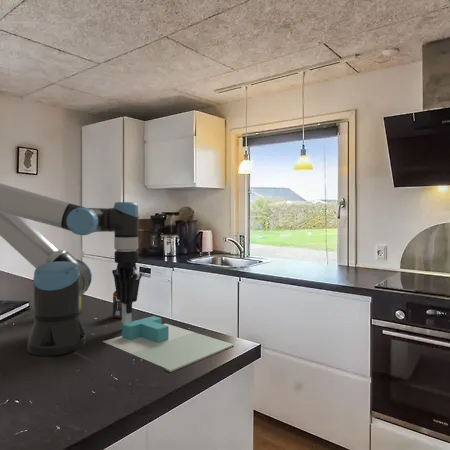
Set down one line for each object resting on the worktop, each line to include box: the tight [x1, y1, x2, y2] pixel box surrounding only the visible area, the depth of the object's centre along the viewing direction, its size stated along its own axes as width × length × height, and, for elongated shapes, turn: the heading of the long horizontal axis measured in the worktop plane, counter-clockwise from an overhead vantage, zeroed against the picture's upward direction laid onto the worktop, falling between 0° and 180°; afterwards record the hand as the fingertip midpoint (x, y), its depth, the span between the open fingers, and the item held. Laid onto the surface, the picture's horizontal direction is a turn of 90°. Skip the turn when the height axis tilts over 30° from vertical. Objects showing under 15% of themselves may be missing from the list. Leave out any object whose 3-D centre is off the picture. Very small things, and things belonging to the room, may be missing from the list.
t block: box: [121, 315, 169, 343], centre depth 117 cm, size 12×12×4 cm
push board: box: [102, 323, 235, 373], centre depth 112 cm, size 24×30×1 cm
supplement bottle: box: [112, 290, 122, 319], centre depth 140 cm, size 6×6×11 cm
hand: (126, 322), depth 125 cm, fingers closed
